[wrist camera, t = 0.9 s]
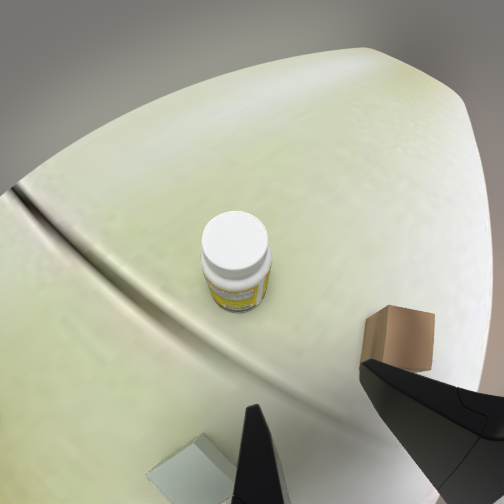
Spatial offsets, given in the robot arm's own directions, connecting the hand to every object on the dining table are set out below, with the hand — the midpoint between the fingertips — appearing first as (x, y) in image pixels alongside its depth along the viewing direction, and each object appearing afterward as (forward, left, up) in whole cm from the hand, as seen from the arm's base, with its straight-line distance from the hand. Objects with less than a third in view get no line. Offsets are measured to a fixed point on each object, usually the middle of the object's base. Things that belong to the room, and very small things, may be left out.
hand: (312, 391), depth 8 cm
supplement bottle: (+7, -6, -14) cm, 16 cm away
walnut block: (-7, -7, -14) cm, 17 cm away
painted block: (+2, +9, -14) cm, 16 cm away
